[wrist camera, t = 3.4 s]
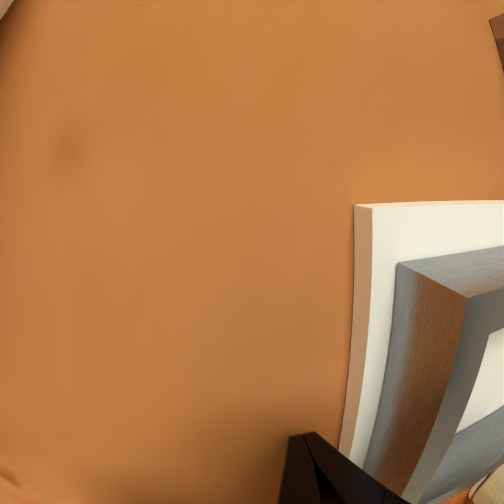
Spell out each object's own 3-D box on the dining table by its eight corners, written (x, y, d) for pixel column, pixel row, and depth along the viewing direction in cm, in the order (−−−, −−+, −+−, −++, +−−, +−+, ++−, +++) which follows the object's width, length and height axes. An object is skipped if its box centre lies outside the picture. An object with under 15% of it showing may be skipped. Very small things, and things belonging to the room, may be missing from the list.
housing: (559, 234, 9) (602, 247, 6) (512, 410, 12) (539, 434, 9) (397, 262, 8) (467, 297, 5) (358, 485, 11) (380, 531, 8)
